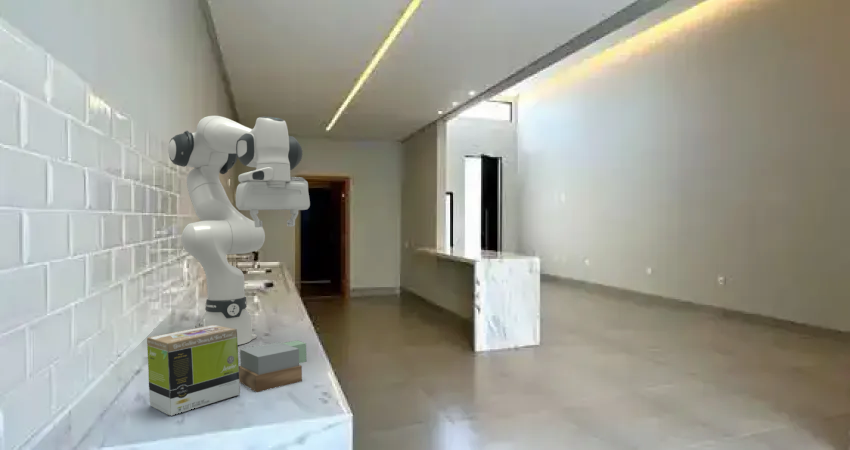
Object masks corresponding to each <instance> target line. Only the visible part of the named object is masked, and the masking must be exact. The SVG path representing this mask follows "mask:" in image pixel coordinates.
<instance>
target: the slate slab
mask: <svg viewBox="0 0 850 450" xmlns="http://www.w3.org/2000/svg"><path fill="white" fill-rule="evenodd" d="M284 343H285V342H280V341H278V342H273V343H267V344H262V345H256V346H251V347H250V346H249V347H245V348H240V349H239V352H240V354H239V356H240V358H239V359H240V361H239V366H241V367H243V368H245V369H247V370H249V371H251V372H254V373H256V374H258V375H261V374H265V373H269V372H274V371H278V370H283V369H287V368H291V367H296V366H299V365H300V363H299V349H298V348H295V347H292V346H289V345H286V344H284Z"/></svg>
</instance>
